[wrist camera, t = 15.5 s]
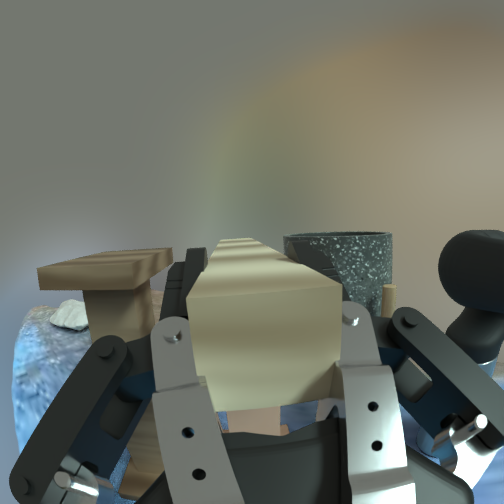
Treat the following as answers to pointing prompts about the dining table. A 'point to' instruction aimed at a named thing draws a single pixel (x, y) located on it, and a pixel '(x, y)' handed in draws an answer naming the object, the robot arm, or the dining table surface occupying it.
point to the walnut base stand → (119, 331)
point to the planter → (358, 265)
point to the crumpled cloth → (70, 315)
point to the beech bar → (263, 327)
